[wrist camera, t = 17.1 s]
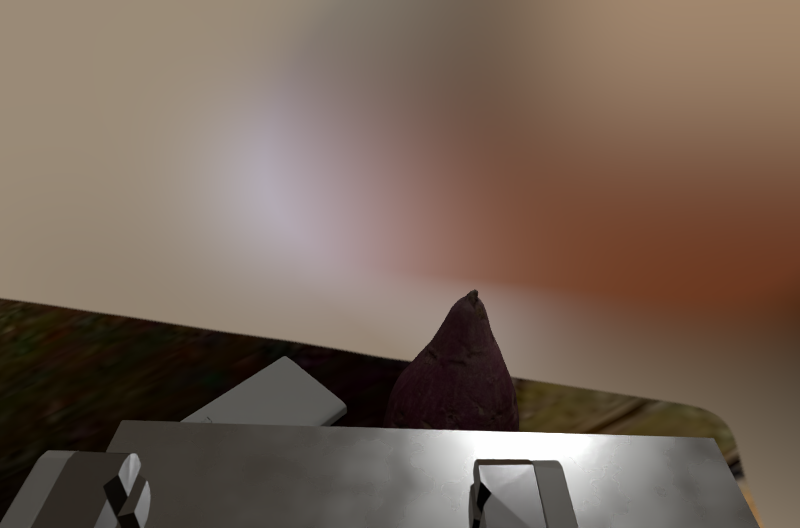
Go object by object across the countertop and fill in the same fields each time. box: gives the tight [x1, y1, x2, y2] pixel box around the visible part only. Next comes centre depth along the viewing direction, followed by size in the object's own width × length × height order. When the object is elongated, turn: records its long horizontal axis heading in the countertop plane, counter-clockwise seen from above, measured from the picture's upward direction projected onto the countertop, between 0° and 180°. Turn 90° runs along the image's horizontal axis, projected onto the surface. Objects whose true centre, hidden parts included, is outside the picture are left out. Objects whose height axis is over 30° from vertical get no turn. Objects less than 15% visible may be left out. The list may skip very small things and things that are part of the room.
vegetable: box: [383, 290, 520, 432], centre depth 43 cm, size 10×10×15 cm
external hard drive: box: [181, 356, 347, 427], centre depth 47 cm, size 2×8×12 cm
